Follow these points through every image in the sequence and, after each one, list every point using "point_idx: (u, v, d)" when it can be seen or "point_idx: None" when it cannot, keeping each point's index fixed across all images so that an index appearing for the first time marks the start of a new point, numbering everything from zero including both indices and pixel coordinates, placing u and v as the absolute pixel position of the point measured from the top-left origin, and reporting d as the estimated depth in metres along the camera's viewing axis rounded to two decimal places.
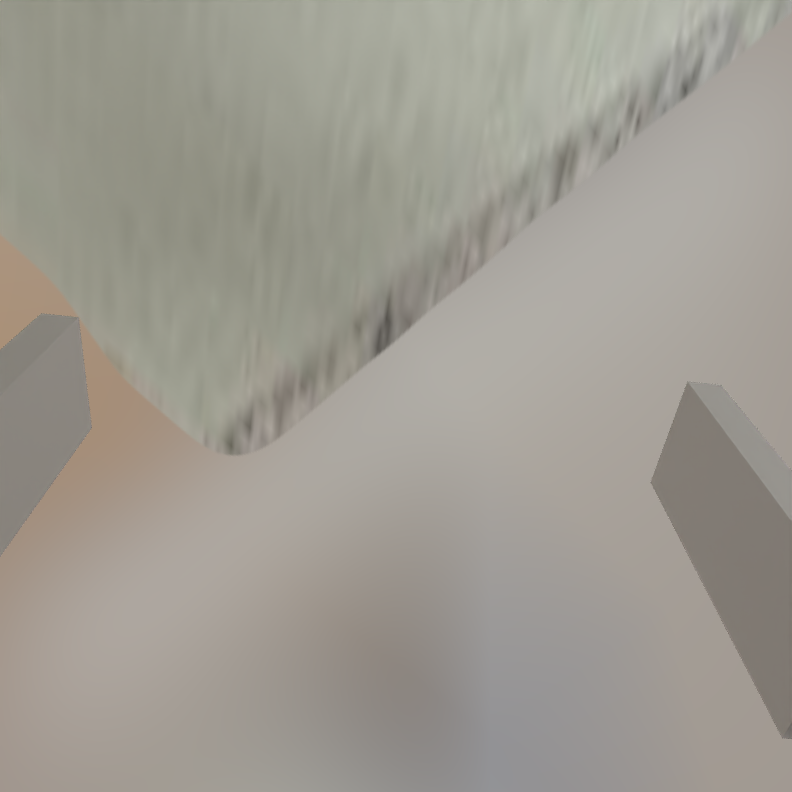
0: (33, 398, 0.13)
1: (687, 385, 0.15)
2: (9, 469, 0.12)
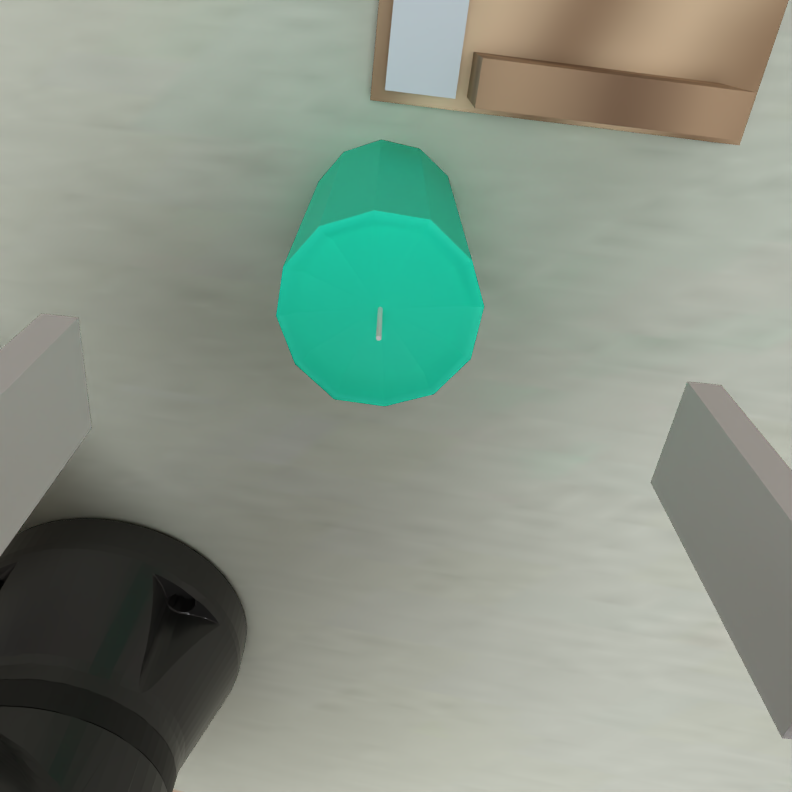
0: (33, 398, 0.13)
1: (688, 385, 0.15)
2: (9, 469, 0.12)
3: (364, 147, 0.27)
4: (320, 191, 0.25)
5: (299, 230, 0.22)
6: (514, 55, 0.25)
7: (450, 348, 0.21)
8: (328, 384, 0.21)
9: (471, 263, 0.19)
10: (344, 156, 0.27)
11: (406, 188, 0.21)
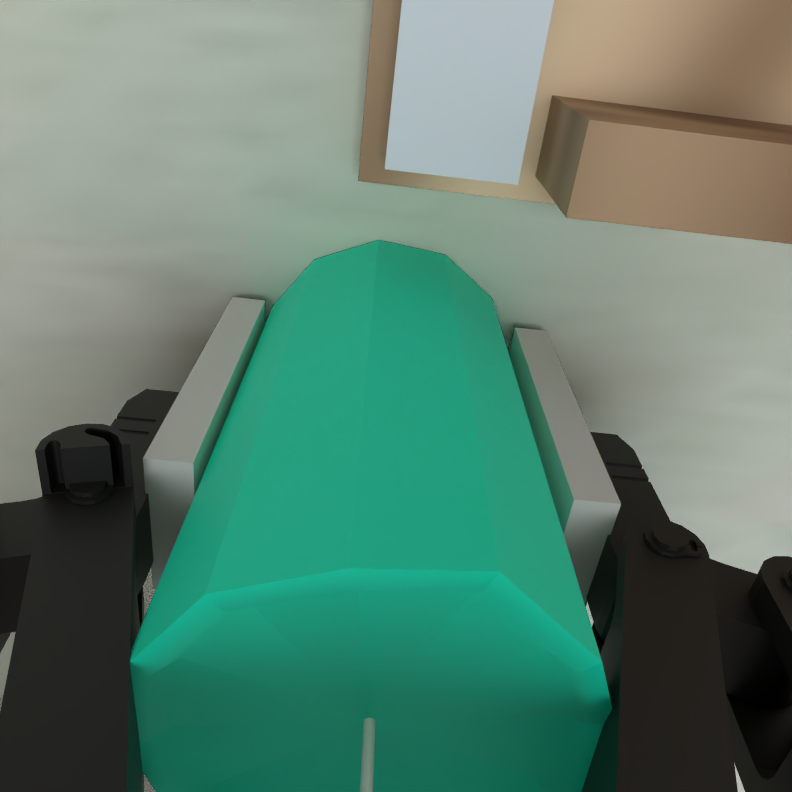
0: (246, 369, 0.15)
1: (515, 330, 0.16)
2: None
3: (349, 255, 0.16)
4: (263, 357, 0.13)
5: (201, 484, 0.10)
6: (628, 102, 0.13)
7: (529, 788, 0.09)
8: None
9: (600, 668, 0.08)
10: (313, 274, 0.15)
11: (429, 411, 0.10)
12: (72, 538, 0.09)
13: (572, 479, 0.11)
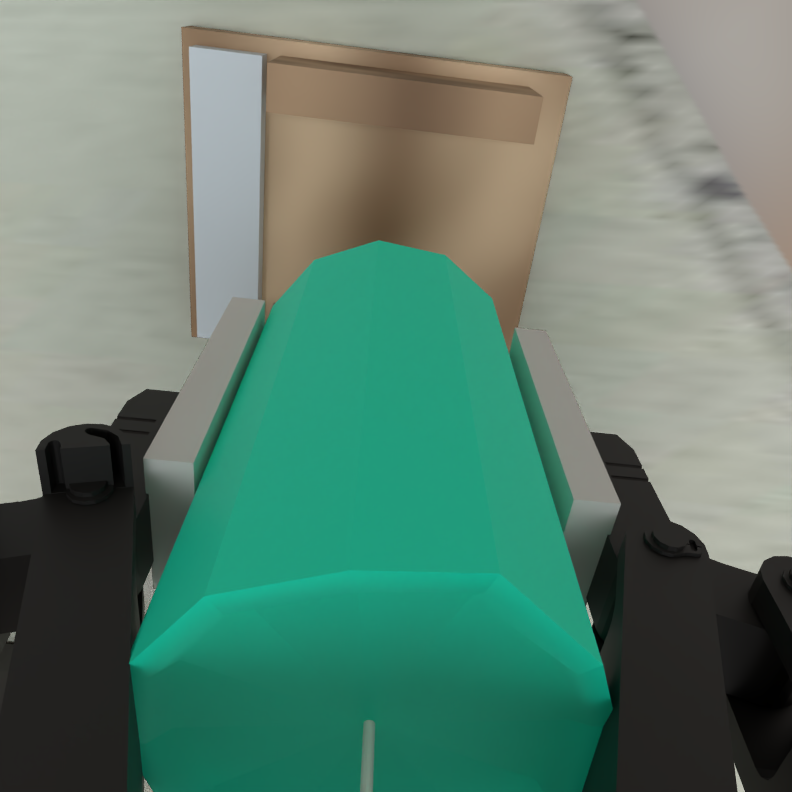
0: (246, 369, 0.15)
1: (515, 330, 0.16)
2: None
3: (349, 256, 0.16)
4: (262, 357, 0.13)
5: (201, 485, 0.10)
6: None
7: (529, 790, 0.09)
8: None
9: (601, 670, 0.07)
10: (313, 274, 0.15)
11: (429, 412, 0.10)
12: (72, 538, 0.09)
13: (572, 479, 0.11)
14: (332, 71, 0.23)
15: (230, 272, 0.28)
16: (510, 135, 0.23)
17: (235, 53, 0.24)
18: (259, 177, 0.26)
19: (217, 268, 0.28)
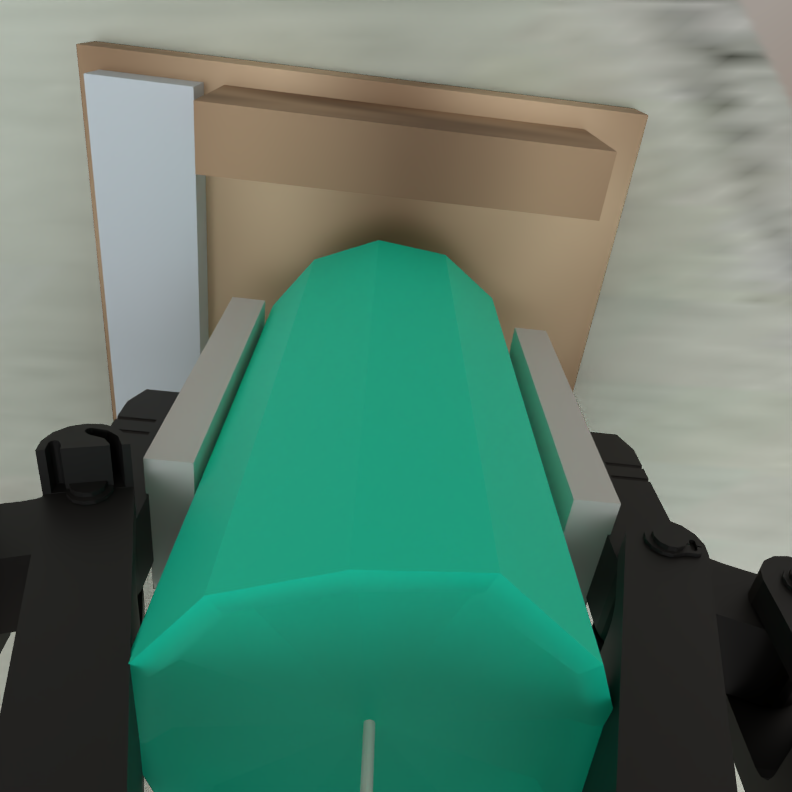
0: None
1: (515, 330, 0.16)
2: None
3: (349, 255, 0.16)
4: (262, 357, 0.13)
5: (201, 485, 0.10)
6: None
7: (529, 789, 0.09)
8: None
9: (601, 670, 0.07)
10: (313, 274, 0.15)
11: (429, 411, 0.10)
12: (72, 538, 0.09)
13: (572, 479, 0.11)
14: (294, 113, 0.15)
15: (162, 383, 0.20)
16: (564, 207, 0.16)
17: (153, 83, 0.16)
18: (196, 257, 0.18)
19: (143, 377, 0.20)
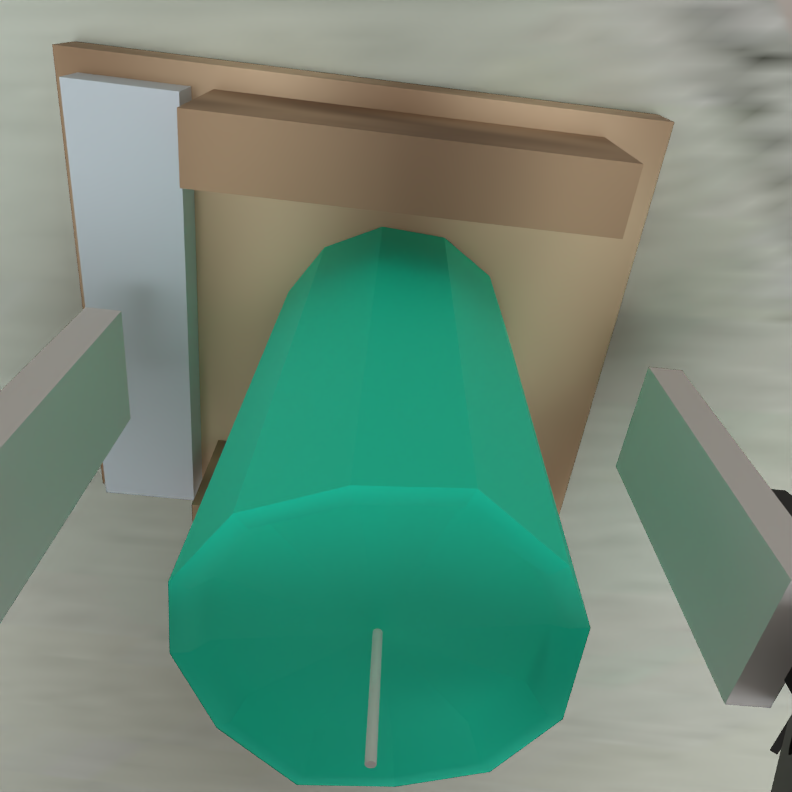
0: (83, 388, 0.13)
1: (649, 370, 0.15)
2: (62, 455, 0.13)
3: (355, 242, 0.17)
4: (279, 334, 0.15)
5: (228, 441, 0.12)
6: None
7: (520, 691, 0.11)
8: (283, 763, 0.11)
9: (568, 571, 0.09)
10: (323, 260, 0.17)
11: (423, 367, 0.11)
12: None
13: (778, 553, 0.10)
14: (288, 122, 0.13)
15: (149, 407, 0.19)
16: (584, 224, 0.14)
17: (135, 87, 0.15)
18: (184, 275, 0.17)
19: None
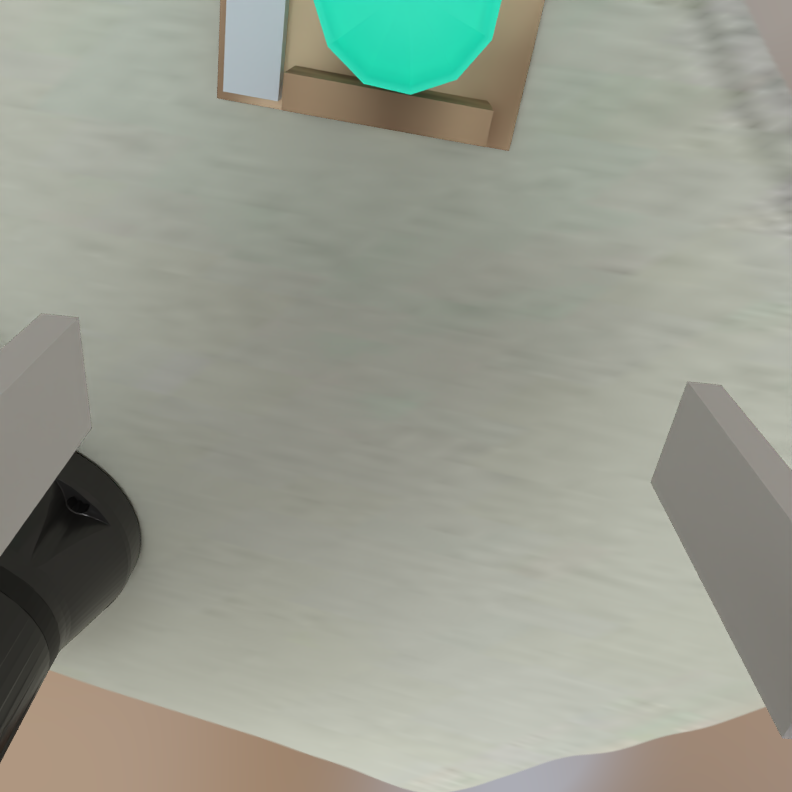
0: (33, 398, 0.13)
1: (687, 385, 0.15)
2: (9, 469, 0.12)
3: None
4: None
5: None
6: (327, 70, 0.32)
7: (473, 33, 0.22)
8: (358, 68, 0.22)
9: None
10: None
11: None
12: None
13: None
14: None
15: (258, 22, 0.30)
16: None
17: None
18: None
19: (246, 17, 0.30)
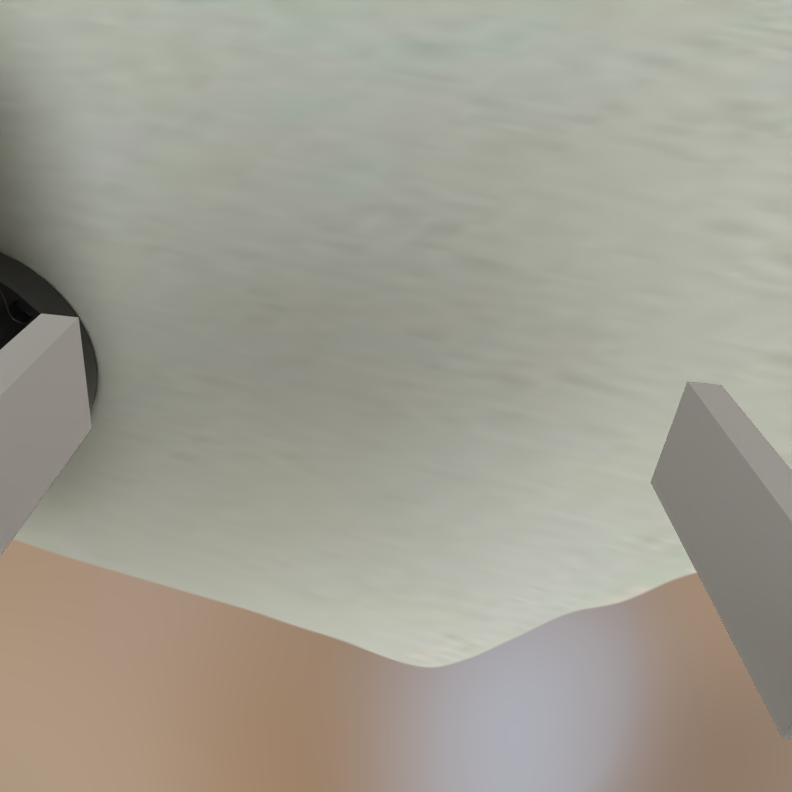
0: (33, 398, 0.13)
1: (688, 385, 0.15)
2: (9, 469, 0.12)
3: None
4: None
5: None
6: None
7: None
8: None
9: None
10: None
11: None
12: None
13: None
14: None
15: None
16: None
17: None
18: None
19: None
